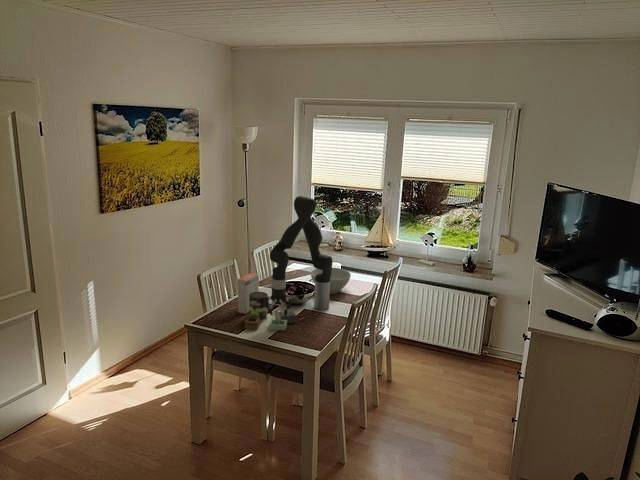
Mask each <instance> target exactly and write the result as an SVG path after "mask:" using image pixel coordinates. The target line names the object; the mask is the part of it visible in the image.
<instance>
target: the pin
mask: <svg viewBox="0 0 640 480" xmlns="http://www.w3.org/2000/svg"><path fill="white" fill-rule="evenodd" d="M274 312H275V314H274V315H275V318H274V319H275V320H276V324H281V312H282V311H281V310H280V309H276V310H275V311H274Z"/></svg>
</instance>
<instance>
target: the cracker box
mask: <svg viewBox="0 0 640 480" xmlns="http://www.w3.org/2000/svg"><path fill="white" fill-rule="evenodd" d="M259 278H260V277H259V273H254V272H250V273H247V274H246V275H244V276H241V277H239V278H237V306H238V307H237V309H238V313H239V314H244V315H248V314H249V294H250V293H253V292H260V290H259V285H260V284H259V281H260V280H259Z"/></svg>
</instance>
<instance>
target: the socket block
mask: <svg viewBox="0 0 640 480" xmlns="http://www.w3.org/2000/svg"><path fill="white" fill-rule="evenodd" d="M260 325H261V321H260V318H257V317H249V316H247V317H246V319H245V321H244V330H254V331H255V330H256V331H258V329H259V328H260Z"/></svg>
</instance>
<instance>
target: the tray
mask: <svg viewBox="0 0 640 480" xmlns="http://www.w3.org/2000/svg"><path fill="white" fill-rule="evenodd" d="M287 327H288V323H287V320H281V324H276V318H273V319H270V322H269V323H268V330H269V331H270V330H271V331H286V329H287Z"/></svg>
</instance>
